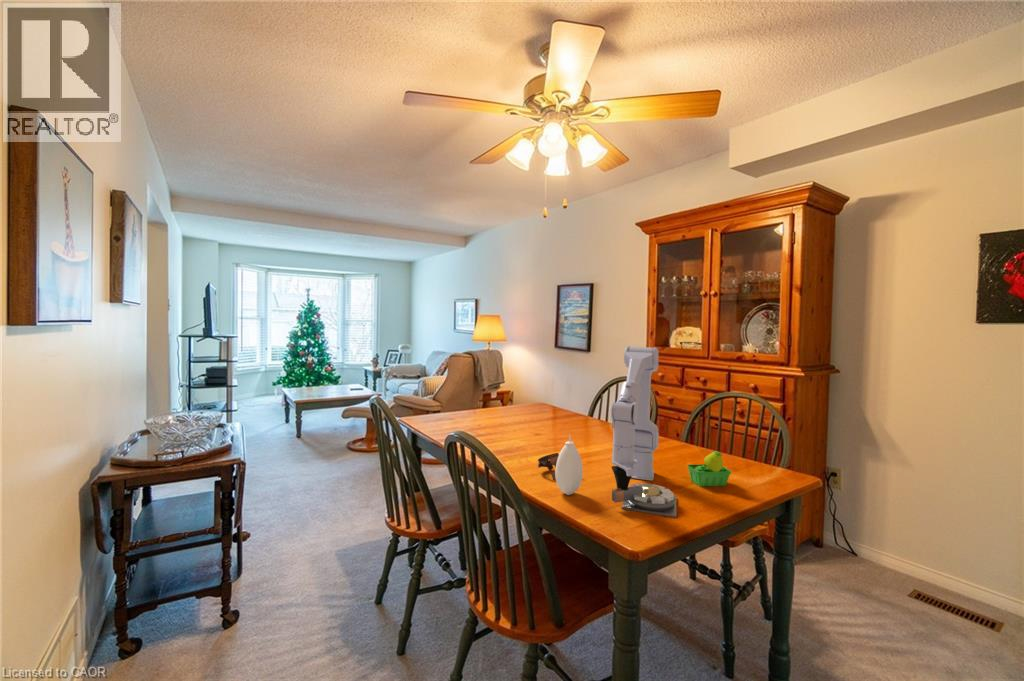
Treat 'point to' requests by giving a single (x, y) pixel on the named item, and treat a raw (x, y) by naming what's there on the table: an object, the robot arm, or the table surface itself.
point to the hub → (658, 509)
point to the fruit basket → (710, 471)
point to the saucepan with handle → (641, 495)
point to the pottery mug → (549, 462)
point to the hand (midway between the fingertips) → (622, 492)
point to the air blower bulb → (568, 469)
